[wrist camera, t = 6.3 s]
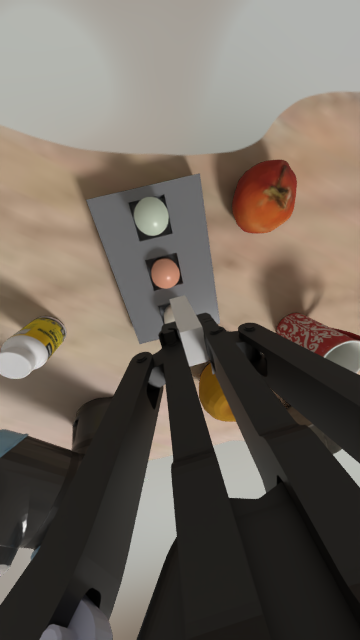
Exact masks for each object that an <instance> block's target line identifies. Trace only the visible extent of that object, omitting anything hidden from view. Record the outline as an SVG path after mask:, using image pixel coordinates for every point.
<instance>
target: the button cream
mask: <svg viewBox="0 0 360 640" xmlns="http://www.w3.org/2000/svg"><path fill="white" fill-rule="evenodd" d="M174 321H175V318H174V315H173V311H172V307H171V305H169V306H168V307H167V308H166V309H165V311H164V322H165V324H167V323H170V322H174Z"/></svg>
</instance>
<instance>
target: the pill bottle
mask: <svg viewBox="0 0 360 640" xmlns="http://www.w3.org/2000/svg"><path fill="white" fill-rule="evenodd" d="M65 338H66V329H65V326H64V325H63V324H62V323H61V322H60V321H59V320H57V319H55V318H53V317H48V316H43V317H39V318H36V319H35V320H33V321H32V322H31V323H29V324H28V325H26V326H25V327H24V328H22V329H21V330H20V331H18V332H17V333H16V334H14V335H13V336H11V337H10V338H9V339H7V340H6V341H5V342H4V344H3V345H2V348H1V352H0V374H1V375H2V376H4V377H7V378H11V379H20V378H24V377H26V376H27V375H29V374H30V372H31V371H32V370H34V369H37V368H39V367H41V366H43V365H44V364H45V363H46V361H47V360H48V359H49V358H50V357H51V355H52V354H53V353H54V352H55V351H56V349H57V348H58V347H59V346H60V345H61V343H62V342H63V341H64V339H65Z"/></svg>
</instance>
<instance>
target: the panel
mask: <svg viewBox="0 0 360 640" xmlns="http://www.w3.org/2000/svg"><path fill="white" fill-rule="evenodd" d="M146 197H154V198H157V199H159V200H160V201H162V202H163V204H164V205H165V206H166V208H167V211H168V216H169V219H168V224H167V227H166V228H165V230H164V231H163V232H162V233H160V234H158V235H155V236H151V235H147V234H145V233H143V232H142V231H141V230H140V229H139V228H138V227H137V225H136V223H135V219H134V211H135V207H136V205H137V204H138V202H139V201H140V200H142V199H143V198H146ZM86 201H87V203H88V206H89V209H90V211H91V214H92V217H93V220H94V222H95V225H96V228H97V230H98V233H99V236H100V238H101V241H102V244H103V246H104V249H105V252H106V255H107V257H108V260H109V263H110V265H111V268H112V271H113V273H114V276H115V279H116V281H117V284H118V287H119V289H120V292H121V295H122V298H123V300H124V303H125V306H126V308H127V311H128V314H129V316H130V319H131V322H132V324H133V327H134V330H135V333H136V335H137V338H138V341H139V343H140V344H142V343H146V342H150V341H154V340H158V339H159V336H158V334H159V332H160V331H161V328H162V326H163V324H165V322H164V311H165V309H166V308H167V307H168V306H169V305H171V304H170V300H169V299H172V298H176V297H180V296H184V295H185V296H186V298H187V300H188V302H189V303H190V305H191V307H192V309H193V311H194V313H195V314H196V315H198V314H202V313H205V312H206V313H208V314H210V315H211V316H212V318H213V319H214V320H215V322H216V323H217V324H219V323H220V319H219V312H218V304H217V297H216V290H215V282H214V275H213V267H212V260H211V253H210V245H209V238H208V231H207V223H206V216H205V209H204V201H203V194H202V187H201V179H200V173H199V174H195V175H191V176H186V177H182V178H178V179H173V180H169V181H165V182H161V183H156V184H152V185H148V186H143V187H139V188H135V189H131V190H126V191H122V192H118V193H113V194H109V195H105V196H101V197H96V198H92V199H88V200H86ZM161 257H167V258H170V259H171V260H173V261H174V263H175V264H176V265H177V267H178V269H179V272H180V277H179V280H178V282H177V283H176V285H174V286H173V287H171V288H167V289H164V288H160V287H158V286H157V285H156V284H155V283H154V282H153V280H152V275H151V269H152V265H153V263H154V261H155V260H156V259H158V258H161Z"/></svg>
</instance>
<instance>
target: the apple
mask: <svg viewBox="0 0 360 640" xmlns="http://www.w3.org/2000/svg"><path fill="white" fill-rule="evenodd" d="M199 398H200V401H201V403H202V405H203V407H204V409H205V410H206V411H207V412H208V413H209V414H210V415H211V416H212V417H213V418H215V419H218V420H221V421H236V420H235V417H234V415H233V413H232V411H231V409H230V406H229V404H228V402H227V400H226V398H225V395H224V393H223V391H222V389H221V386H220V384H219V382H218V380H217V378H216V375H215V373H214V374H213V373H212V367H211V363H209V364H208V365H207V366H206V367H205V369H204V370H203V372H202V374H201V377H200V382H199Z"/></svg>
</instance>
